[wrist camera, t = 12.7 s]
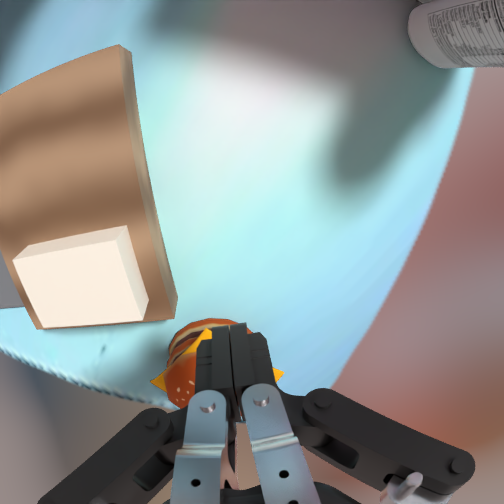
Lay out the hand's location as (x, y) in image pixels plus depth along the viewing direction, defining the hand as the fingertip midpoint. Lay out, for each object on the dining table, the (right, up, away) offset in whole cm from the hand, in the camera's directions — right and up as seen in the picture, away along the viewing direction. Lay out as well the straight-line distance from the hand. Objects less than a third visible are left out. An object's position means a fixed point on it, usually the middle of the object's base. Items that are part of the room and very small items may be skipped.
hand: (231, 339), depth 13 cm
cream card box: (-12, +2, +7) cm, 14 cm away
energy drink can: (+16, +22, +4) cm, 28 cm away
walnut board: (-13, +8, +8) cm, 17 cm away
